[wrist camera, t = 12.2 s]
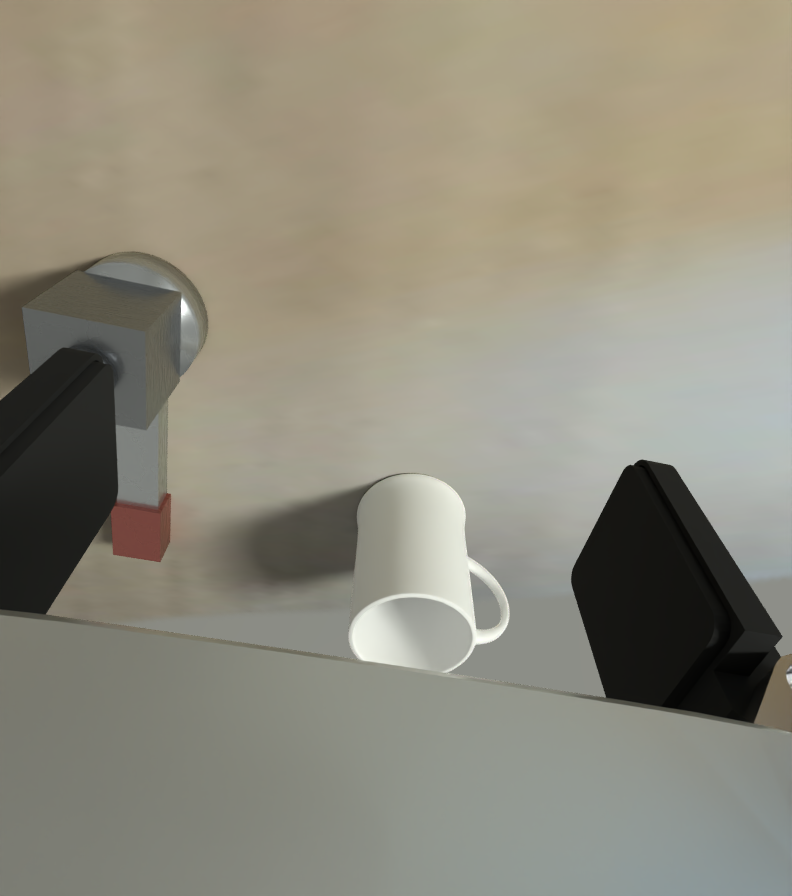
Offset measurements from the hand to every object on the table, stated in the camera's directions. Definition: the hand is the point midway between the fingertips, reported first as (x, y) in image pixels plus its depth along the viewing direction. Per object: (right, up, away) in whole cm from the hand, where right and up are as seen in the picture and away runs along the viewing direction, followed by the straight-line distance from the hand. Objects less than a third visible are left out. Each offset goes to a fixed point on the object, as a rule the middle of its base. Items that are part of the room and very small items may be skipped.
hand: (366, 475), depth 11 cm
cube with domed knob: (-16, +8, +26) cm, 31 cm away
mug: (+3, -5, +38) cm, 38 cm away
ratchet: (-17, +3, +32) cm, 37 cm away
